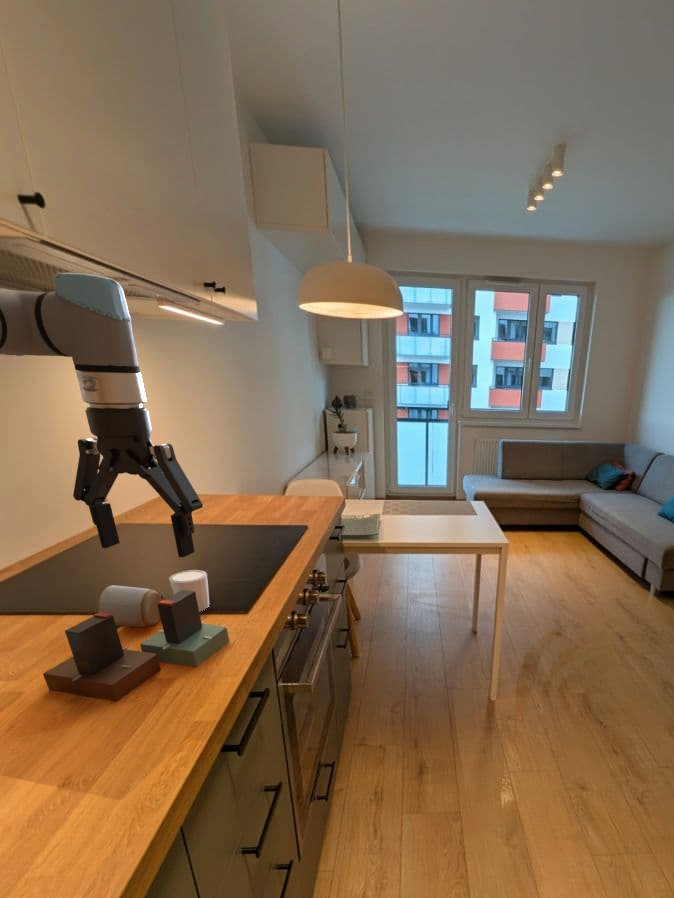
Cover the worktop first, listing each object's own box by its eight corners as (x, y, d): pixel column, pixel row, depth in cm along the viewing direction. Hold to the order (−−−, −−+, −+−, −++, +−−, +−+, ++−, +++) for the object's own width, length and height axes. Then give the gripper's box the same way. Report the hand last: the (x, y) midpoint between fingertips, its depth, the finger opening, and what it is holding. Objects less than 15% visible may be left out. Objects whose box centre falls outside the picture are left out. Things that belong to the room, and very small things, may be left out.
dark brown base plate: (45, 692, 76) (38, 674, 75) (101, 658, 85) (96, 641, 84) (113, 704, 74) (108, 686, 72) (163, 667, 83) (159, 651, 81)
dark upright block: (190, 625, 90) (181, 588, 87) (202, 627, 89) (194, 589, 86) (166, 642, 84) (156, 602, 81) (179, 643, 84) (170, 604, 81)
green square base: (140, 661, 84) (136, 644, 83) (182, 633, 93) (179, 617, 92) (194, 669, 83) (191, 652, 81) (232, 639, 92) (229, 624, 90)
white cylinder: (171, 606, 103) (164, 574, 100) (206, 597, 108) (200, 567, 105) (181, 618, 99) (174, 585, 96) (217, 608, 103) (211, 576, 100)
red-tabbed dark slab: (92, 674, 75) (78, 631, 72) (78, 672, 76) (63, 629, 73) (124, 654, 80) (112, 613, 77) (111, 652, 81) (99, 611, 78)
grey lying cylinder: (149, 634, 93) (140, 595, 90) (103, 633, 92) (92, 594, 89) (175, 609, 102) (168, 574, 99) (134, 609, 102) (125, 573, 99)
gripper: (16, 402, 69) (59, 548, 78) (176, 412, 65) (203, 566, 74) (64, 399, 76) (100, 535, 85) (213, 409, 72) (234, 550, 81)
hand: (148, 550), depth 80 cm, fingers open, 13 cm apart
